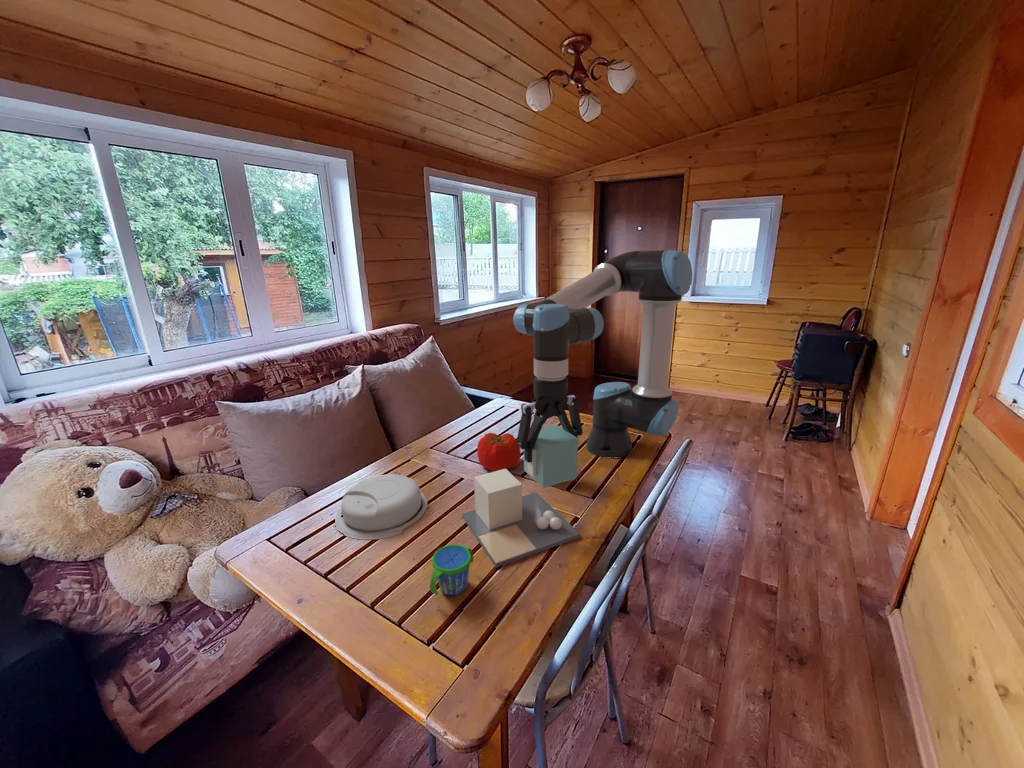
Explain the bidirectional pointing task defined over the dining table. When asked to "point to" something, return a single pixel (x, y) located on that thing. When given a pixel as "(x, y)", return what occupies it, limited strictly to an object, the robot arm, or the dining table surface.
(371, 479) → the round ceiling alarm
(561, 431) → the seafoam cube
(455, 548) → the snack cup
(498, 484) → the ivory cuboid
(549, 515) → the marble
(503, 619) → the dining table surface
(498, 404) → the dining table surface
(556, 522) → the marble
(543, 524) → the marble
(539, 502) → the board
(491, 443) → the tomato
